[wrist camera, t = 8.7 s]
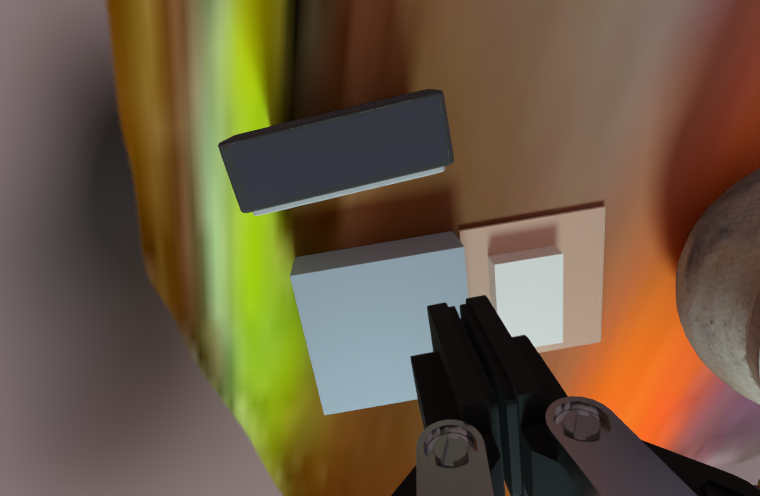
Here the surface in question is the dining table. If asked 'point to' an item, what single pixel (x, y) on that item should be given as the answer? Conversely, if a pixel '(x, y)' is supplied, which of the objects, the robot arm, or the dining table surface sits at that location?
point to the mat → (580, 263)
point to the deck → (374, 314)
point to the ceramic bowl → (725, 287)
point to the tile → (529, 293)
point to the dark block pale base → (339, 152)
